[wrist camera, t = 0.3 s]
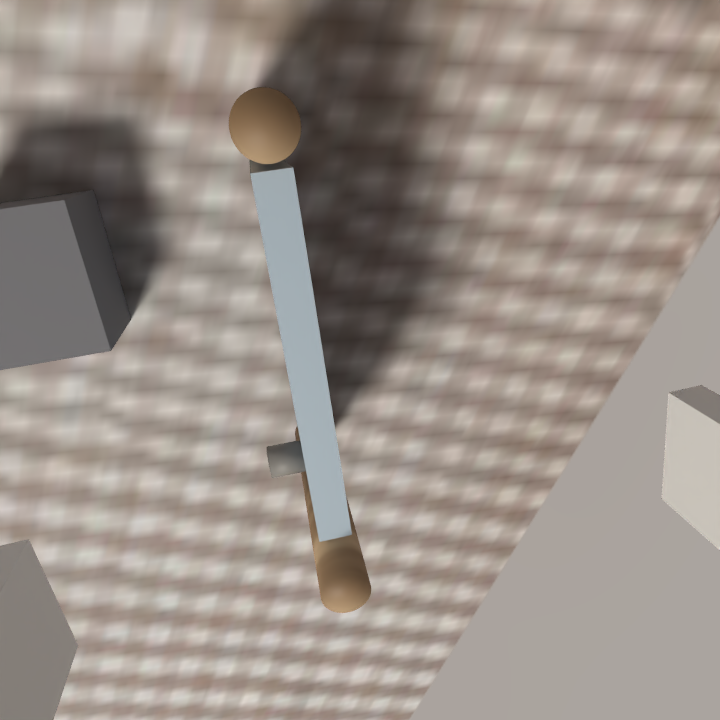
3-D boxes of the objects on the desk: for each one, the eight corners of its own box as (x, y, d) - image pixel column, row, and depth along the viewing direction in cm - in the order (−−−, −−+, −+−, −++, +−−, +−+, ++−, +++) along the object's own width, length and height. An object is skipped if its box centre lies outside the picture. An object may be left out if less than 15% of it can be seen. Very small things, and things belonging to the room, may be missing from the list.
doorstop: (-14, 204, 33) (-66, 218, 28) (94, 189, 34) (64, 200, 28) (33, 335, 36) (-6, 371, 31) (131, 318, 37) (111, 350, 31)
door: (215, 164, 33) (195, 181, 21) (276, 155, 34) (293, 167, 22) (268, 422, 40) (277, 551, 28) (320, 412, 40) (352, 534, 28)
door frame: (233, 111, 34) (221, 92, 19) (274, 105, 34) (294, 82, 19) (298, 450, 42) (324, 617, 28) (330, 443, 43) (373, 606, 28)
